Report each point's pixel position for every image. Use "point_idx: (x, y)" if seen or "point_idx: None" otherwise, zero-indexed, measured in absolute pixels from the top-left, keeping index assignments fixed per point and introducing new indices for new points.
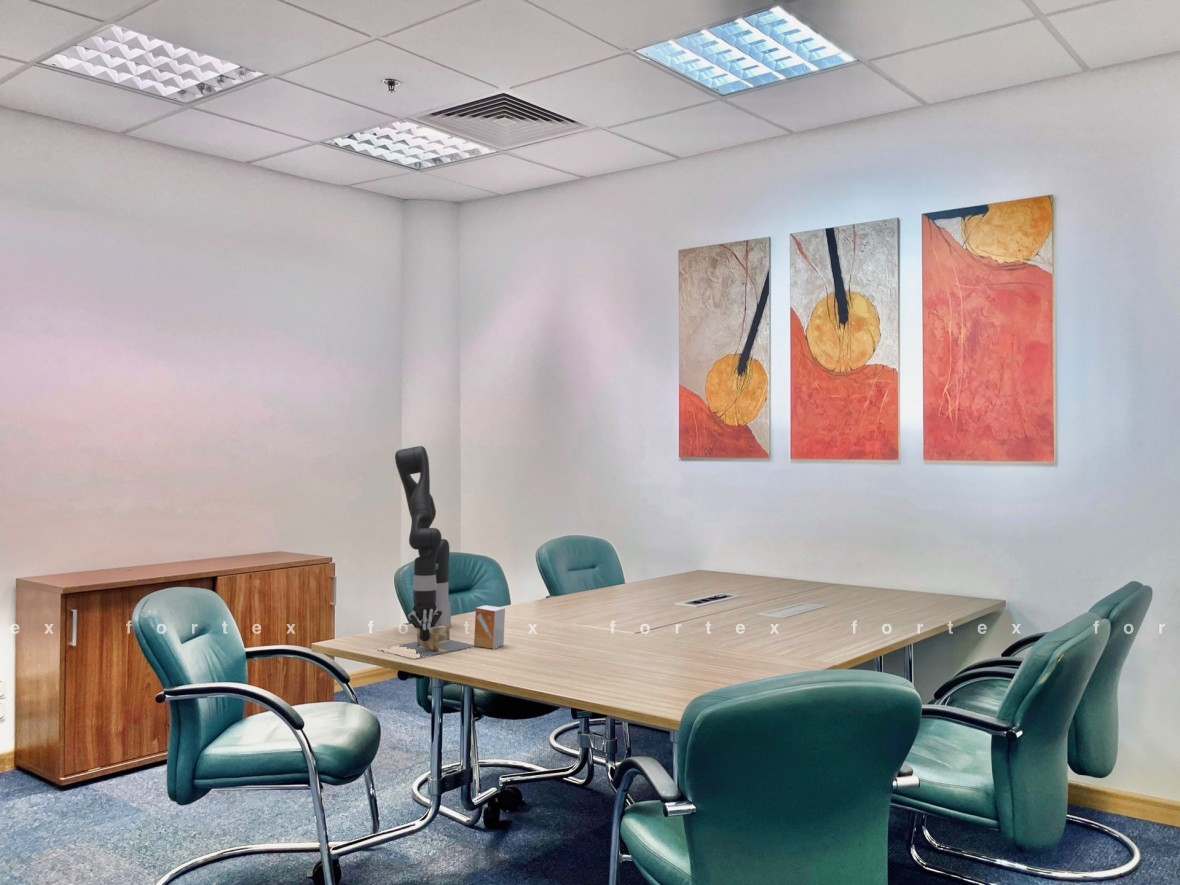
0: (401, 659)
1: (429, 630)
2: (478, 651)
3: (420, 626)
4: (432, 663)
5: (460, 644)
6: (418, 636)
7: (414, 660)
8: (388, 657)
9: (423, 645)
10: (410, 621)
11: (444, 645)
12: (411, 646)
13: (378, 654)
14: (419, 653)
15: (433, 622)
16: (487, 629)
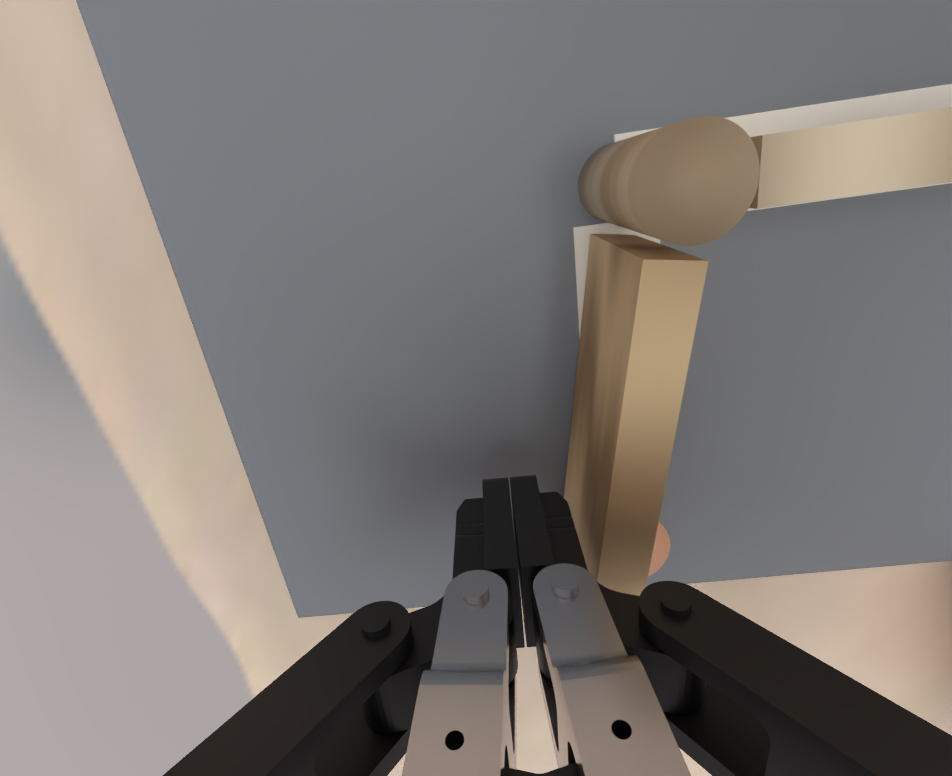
0: (218, 552)
1: (865, 189)
2: (836, 667)
3: (402, 731)
4: None
5: (946, 423)
6: (609, 206)
7: (297, 629)
8: (135, 429)
9: (585, 316)
10: (207, 742)
11: (805, 363)
12: (506, 160)
13: (65, 245)
14: (411, 512)
15: (691, 748)
16: None
